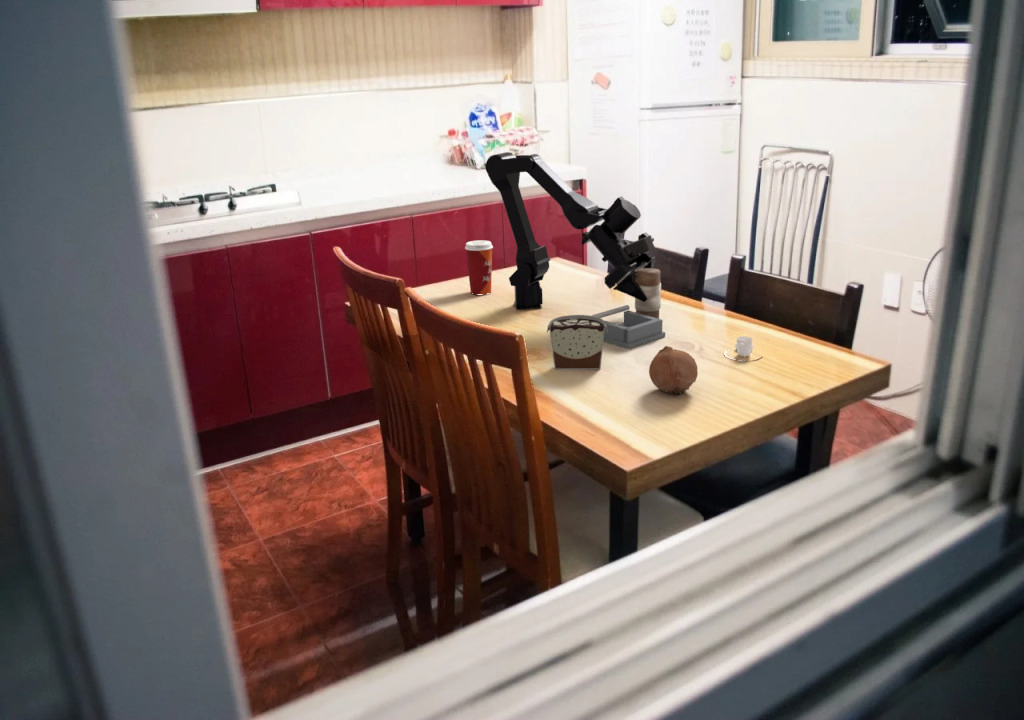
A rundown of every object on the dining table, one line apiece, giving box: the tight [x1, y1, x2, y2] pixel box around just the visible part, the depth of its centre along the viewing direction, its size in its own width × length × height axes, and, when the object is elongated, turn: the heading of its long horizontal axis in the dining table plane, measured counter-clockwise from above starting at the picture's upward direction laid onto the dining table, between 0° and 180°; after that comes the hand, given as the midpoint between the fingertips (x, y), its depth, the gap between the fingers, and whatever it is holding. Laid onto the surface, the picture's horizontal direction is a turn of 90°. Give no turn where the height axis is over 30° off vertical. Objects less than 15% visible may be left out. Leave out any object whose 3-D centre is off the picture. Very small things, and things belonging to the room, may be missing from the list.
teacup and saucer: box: [723, 336, 754, 362], centre depth 175 cm, size 9×8×4 cm
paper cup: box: [464, 239, 494, 294], centre depth 227 cm, size 8×8×14 cm
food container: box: [546, 314, 608, 371], centre depth 172 cm, size 12×6×10 cm, turn 84°
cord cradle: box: [591, 304, 666, 350], centre depth 188 cm, size 12×12×5 cm
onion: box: [648, 345, 699, 395], centre depth 157 cm, size 9×9×10 cm
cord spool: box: [634, 268, 662, 319], centre depth 197 cm, size 6×6×12 cm
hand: (653, 295), depth 196 cm, fingers open, 9 cm apart
